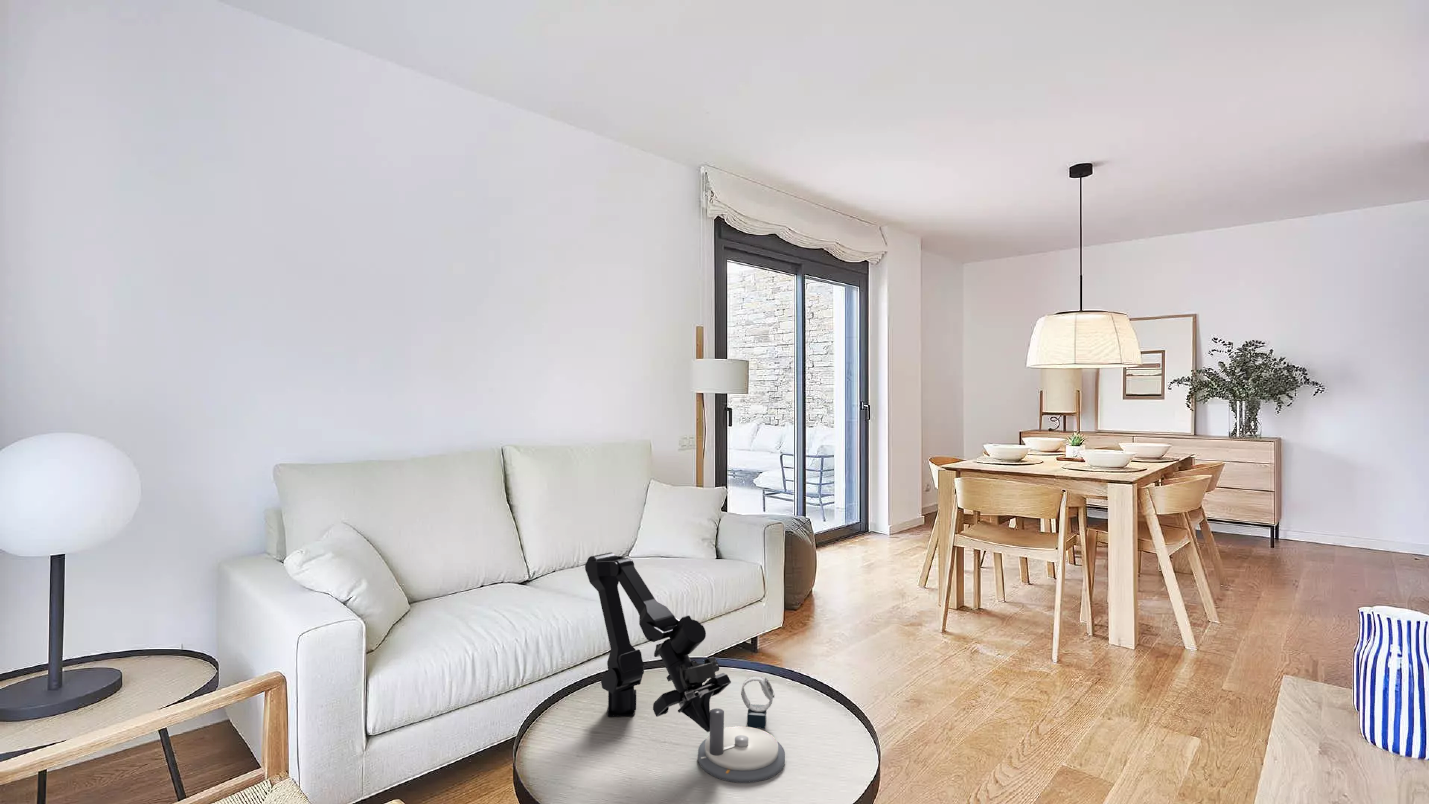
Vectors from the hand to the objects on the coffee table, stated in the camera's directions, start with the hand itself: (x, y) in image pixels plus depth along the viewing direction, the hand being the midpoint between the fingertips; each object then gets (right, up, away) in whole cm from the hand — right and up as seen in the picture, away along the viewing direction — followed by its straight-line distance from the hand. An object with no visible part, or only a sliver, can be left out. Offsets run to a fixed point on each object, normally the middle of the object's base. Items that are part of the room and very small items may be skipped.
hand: (710, 731), depth 158 cm
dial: (+7, -6, +3) cm, 9 cm away
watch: (+11, -7, +19) cm, 23 cm away
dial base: (+7, -7, +3) cm, 10 cm away
